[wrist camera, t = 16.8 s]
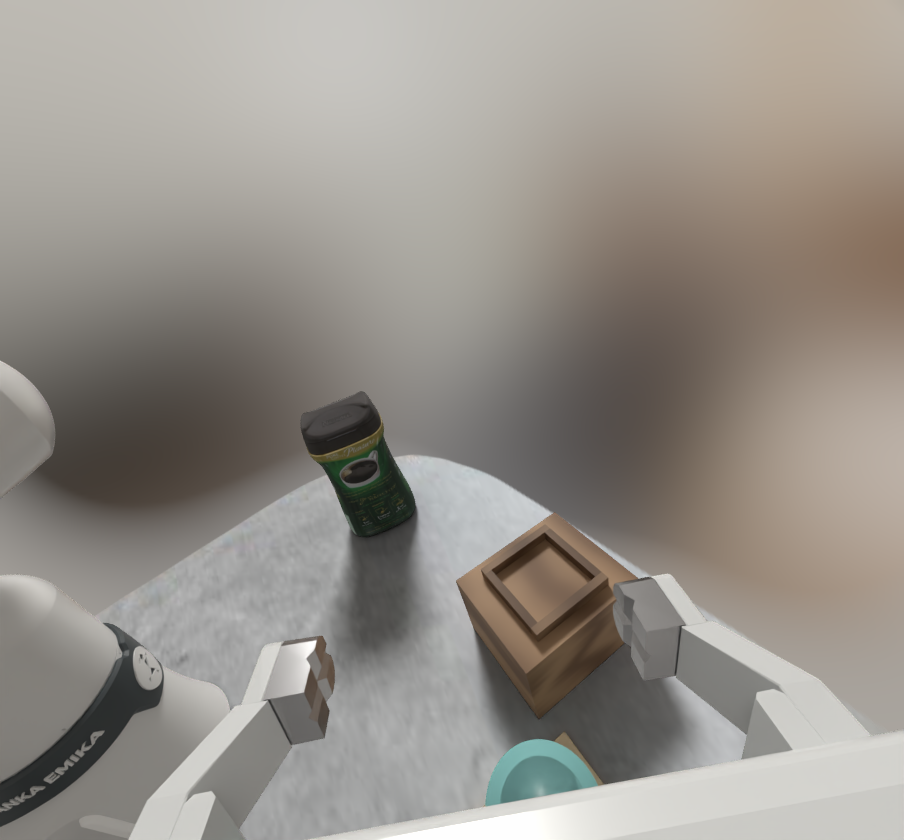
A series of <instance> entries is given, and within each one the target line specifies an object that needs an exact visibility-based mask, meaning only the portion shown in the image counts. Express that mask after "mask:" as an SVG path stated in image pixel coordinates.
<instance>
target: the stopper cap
mask: <svg viewBox="0 0 904 840" xmlns="http://www.w3.org/2000/svg"><path fill="white" fill-rule="evenodd" d="M595 786H598V784H597V782H596V780H595V778H594V777H593V775H592V773H591V772H590V770H589V769H588V768H587V766H586V765H585V764H584V762H583V761H582V760H581V759H580V758H579V757H578V756H577V755H576V754H574V753H573V752H572V751H571V750H569V749H568V748H566V747H565V746H563V745H560V744H558V743H556V742H553V741H550V740H544V739H534V740H528V741H525V742H522V743H520V744H518V745H516V746H514V747H513V748H511V749H510V750H509V751H508V752H507V753H506V754H505V755H504V756H503V757H502V758H501V759H500V761H499V762H498V764H497V765H496V767H495V769H494V771H493V773H492V775H491V778H490V781H489V785H488V789H487V794H486V803H485V807H486V806H492V805H497V804H502V803H508V802H513V801H519V800H524V799H530V798H535V797H540V796H546V795H551V794H557V793H562V792H568V791H573V790H579V789H584V788H590V787H595Z"/></svg>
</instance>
